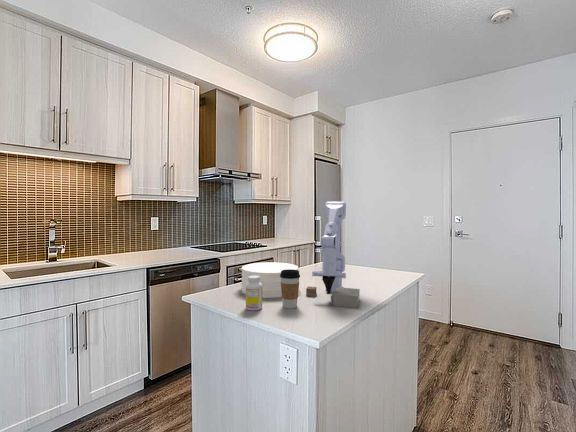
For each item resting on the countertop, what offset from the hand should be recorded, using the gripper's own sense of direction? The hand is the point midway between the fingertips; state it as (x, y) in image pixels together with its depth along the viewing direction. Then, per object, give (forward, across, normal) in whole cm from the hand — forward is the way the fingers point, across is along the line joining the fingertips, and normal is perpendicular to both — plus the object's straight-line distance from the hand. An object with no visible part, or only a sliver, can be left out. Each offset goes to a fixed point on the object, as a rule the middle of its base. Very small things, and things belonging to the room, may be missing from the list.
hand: (328, 293), depth 137 cm
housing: (+3, +8, 0) cm, 8 cm away
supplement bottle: (+3, -27, -19) cm, 34 cm away
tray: (+3, +7, 0) cm, 7 cm away
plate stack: (+4, -31, +10) cm, 33 cm away
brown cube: (+3, -9, +6) cm, 12 cm away
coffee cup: (+3, -14, -12) cm, 19 cm away
